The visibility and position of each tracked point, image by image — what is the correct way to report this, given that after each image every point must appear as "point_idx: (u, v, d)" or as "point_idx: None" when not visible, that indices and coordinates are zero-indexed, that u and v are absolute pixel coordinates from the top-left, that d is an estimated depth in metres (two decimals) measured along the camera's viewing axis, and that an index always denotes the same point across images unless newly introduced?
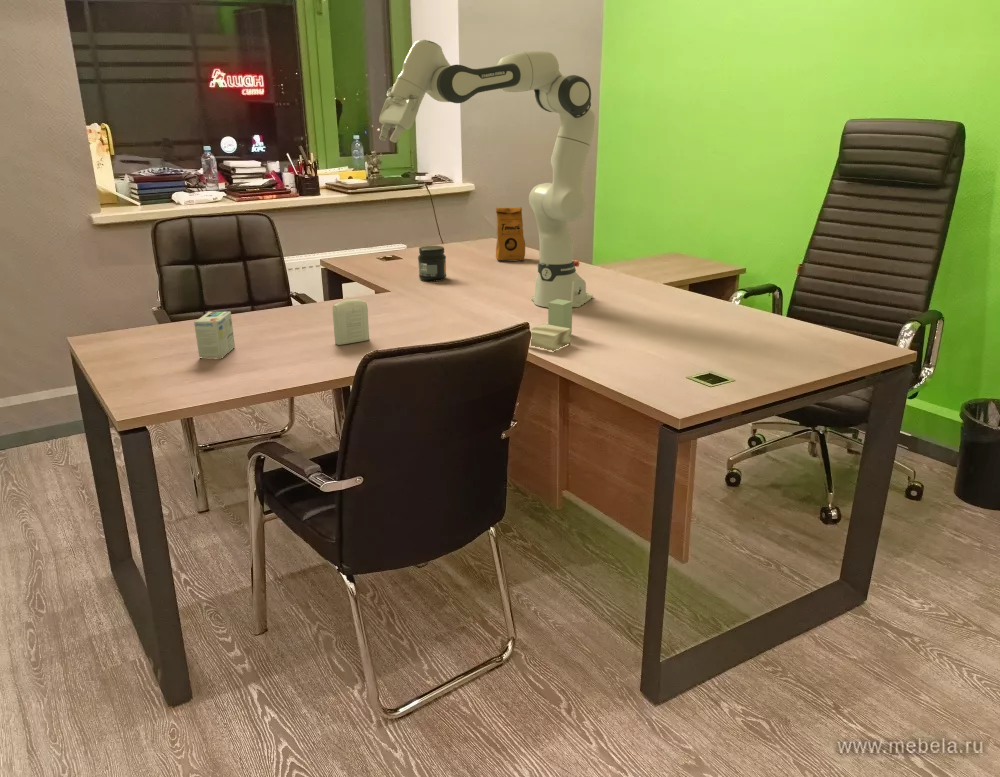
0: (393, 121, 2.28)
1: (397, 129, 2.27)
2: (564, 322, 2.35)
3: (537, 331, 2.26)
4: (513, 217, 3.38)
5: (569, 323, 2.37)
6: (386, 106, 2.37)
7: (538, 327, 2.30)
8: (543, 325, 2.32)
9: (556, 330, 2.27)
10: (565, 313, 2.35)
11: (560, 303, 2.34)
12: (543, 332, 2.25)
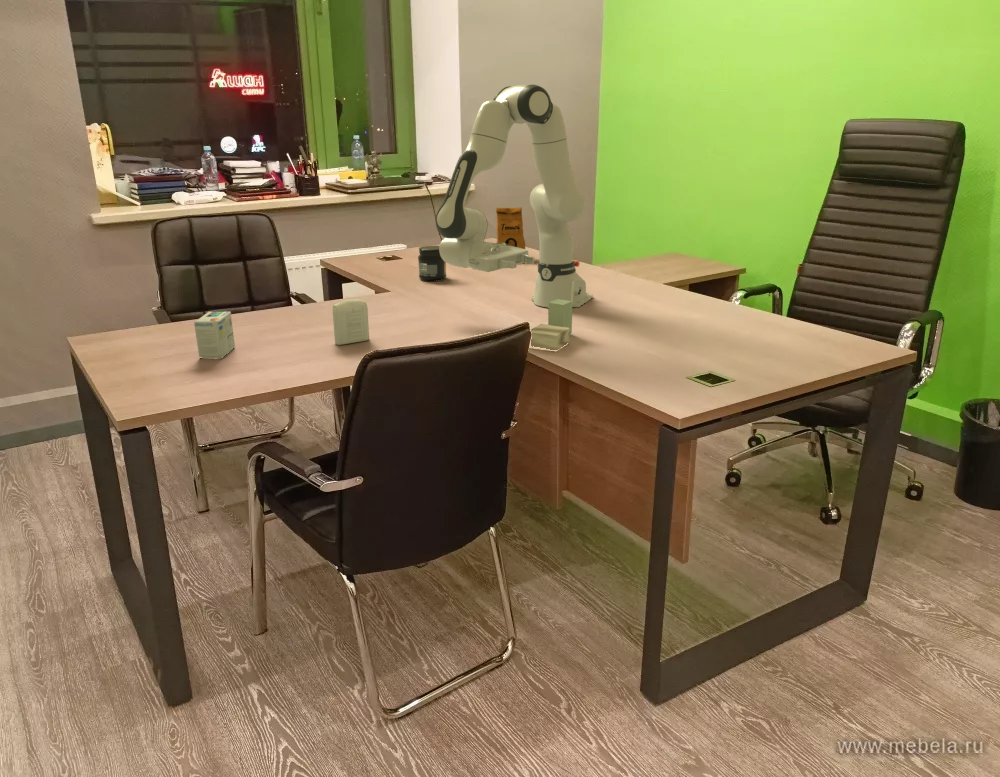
0: (501, 268, 2.39)
1: (501, 266, 2.36)
2: (564, 322, 2.35)
3: (538, 331, 2.26)
4: (513, 217, 3.38)
5: (569, 323, 2.37)
6: None
7: (537, 327, 2.30)
8: (541, 325, 2.32)
9: (556, 330, 2.27)
10: (565, 313, 2.35)
11: (560, 303, 2.34)
12: (544, 332, 2.25)
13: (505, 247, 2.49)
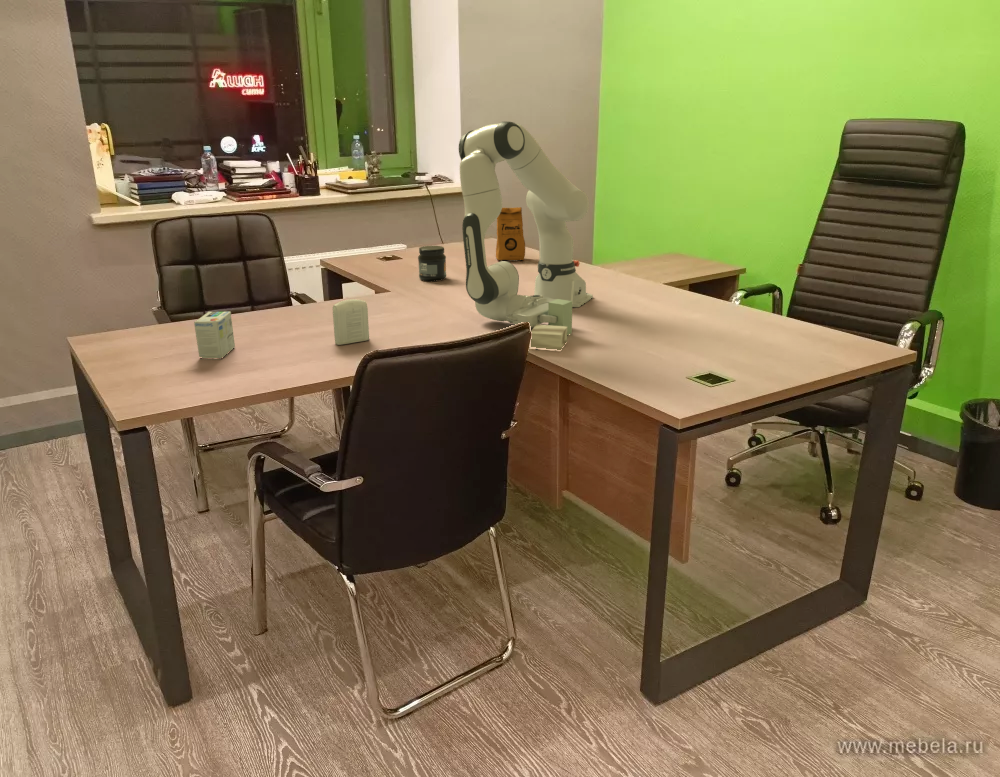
0: (540, 323, 2.37)
1: (543, 321, 2.35)
2: (564, 322, 2.35)
3: (540, 332, 2.25)
4: (513, 217, 3.38)
5: (569, 323, 2.37)
6: None
7: (536, 328, 2.29)
8: (538, 326, 2.31)
9: (556, 329, 2.28)
10: (565, 313, 2.35)
11: (560, 303, 2.34)
12: (547, 332, 2.25)
13: (542, 300, 2.46)
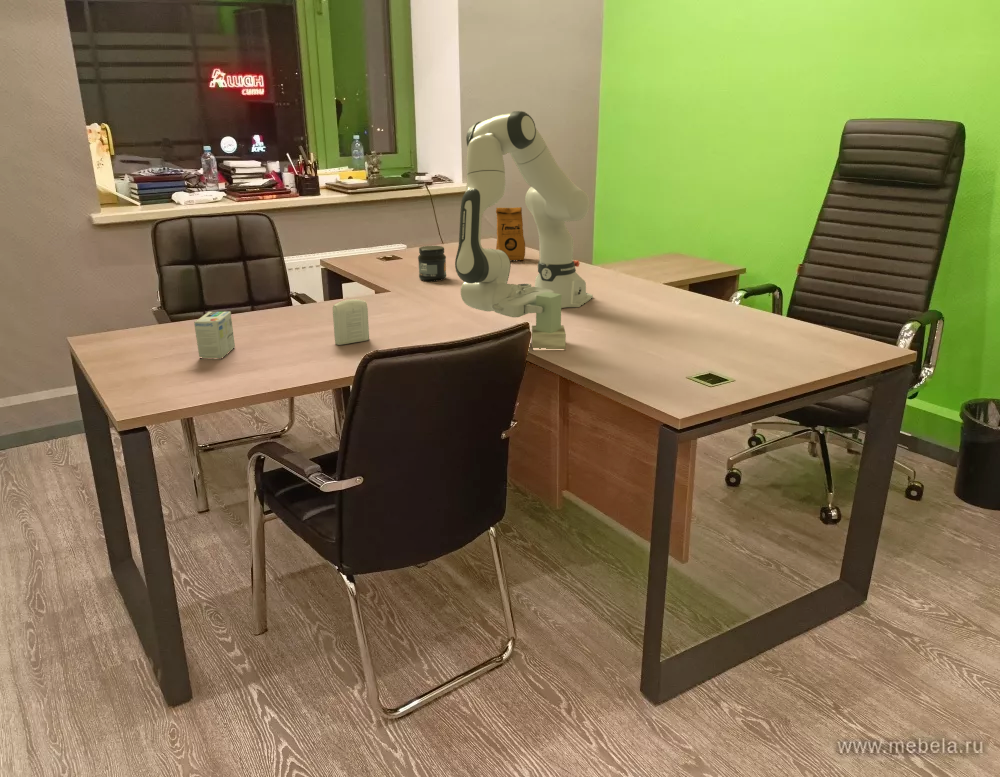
0: (527, 313, 2.25)
1: (528, 311, 2.22)
2: (553, 316, 2.23)
3: (543, 333, 2.25)
4: (513, 217, 3.38)
5: (558, 317, 2.26)
6: None
7: (535, 329, 2.28)
8: (535, 327, 2.30)
9: None
10: (554, 306, 2.23)
11: (548, 296, 2.22)
12: None
13: (530, 288, 2.34)
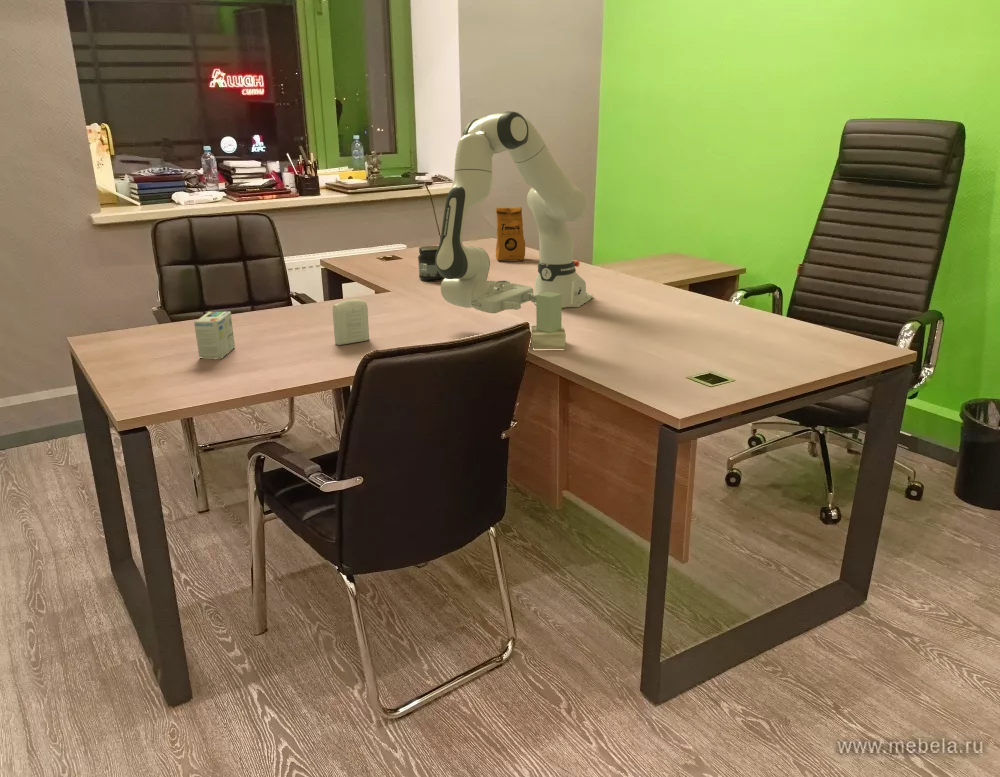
0: None
1: (505, 308, 2.26)
2: (553, 316, 2.24)
3: (542, 333, 2.25)
4: (513, 217, 3.38)
5: (558, 317, 2.26)
6: None
7: (535, 329, 2.28)
8: (535, 327, 2.30)
9: None
10: (554, 306, 2.23)
11: (548, 296, 2.23)
12: (549, 333, 2.25)
13: (509, 285, 2.39)
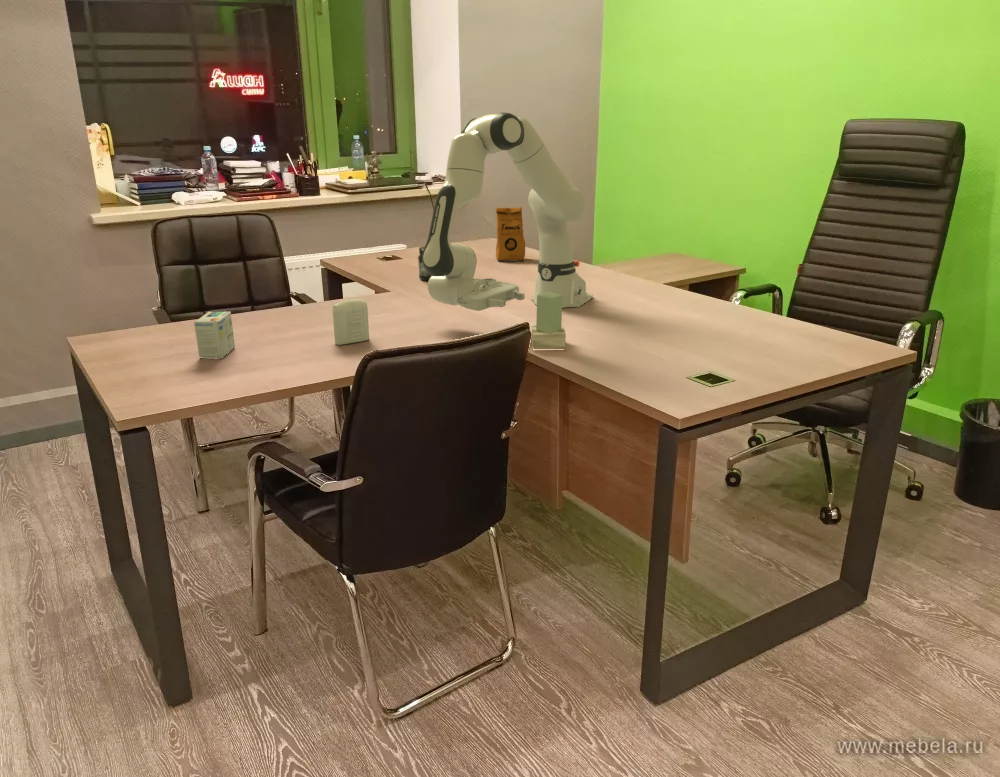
0: None
1: (490, 305, 2.29)
2: (553, 316, 2.23)
3: (543, 333, 2.25)
4: (513, 217, 3.38)
5: (558, 317, 2.25)
6: None
7: (535, 329, 2.28)
8: (535, 327, 2.30)
9: None
10: (554, 307, 2.22)
11: (549, 296, 2.22)
12: (549, 333, 2.25)
13: (495, 283, 2.41)
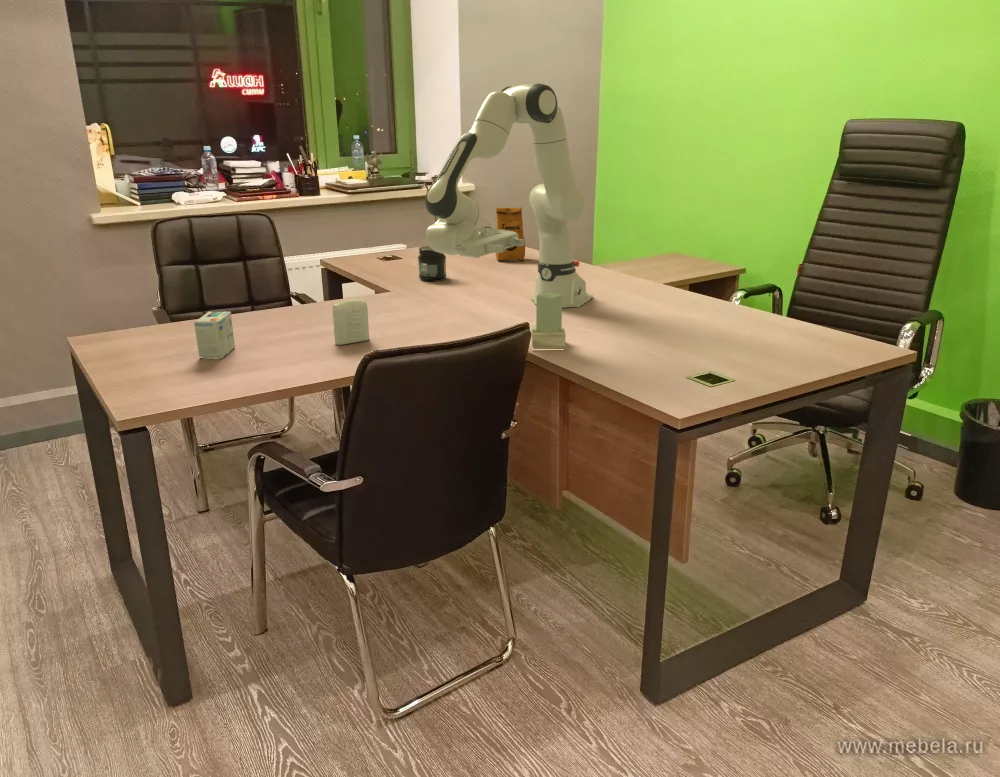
0: None
1: (489, 251, 2.24)
2: (552, 317, 2.23)
3: (542, 333, 2.25)
4: (513, 217, 3.38)
5: (558, 318, 2.25)
6: None
7: (535, 329, 2.28)
8: (535, 327, 2.30)
9: None
10: (554, 307, 2.22)
11: (548, 296, 2.22)
12: None
13: (493, 231, 2.36)
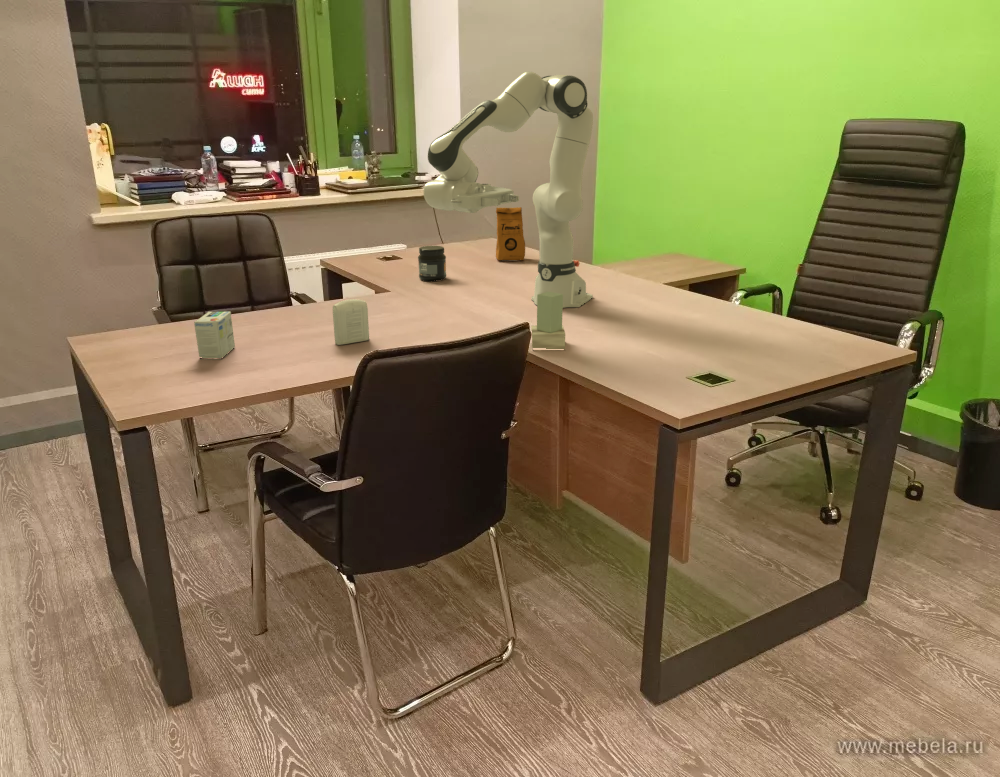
0: None
1: (485, 204, 2.30)
2: (553, 315, 2.23)
3: (542, 332, 2.25)
4: (513, 217, 3.38)
5: (559, 317, 2.26)
6: None
7: (535, 329, 2.28)
8: (535, 327, 2.30)
9: None
10: (554, 306, 2.23)
11: (549, 295, 2.23)
12: None
13: (490, 187, 2.42)
